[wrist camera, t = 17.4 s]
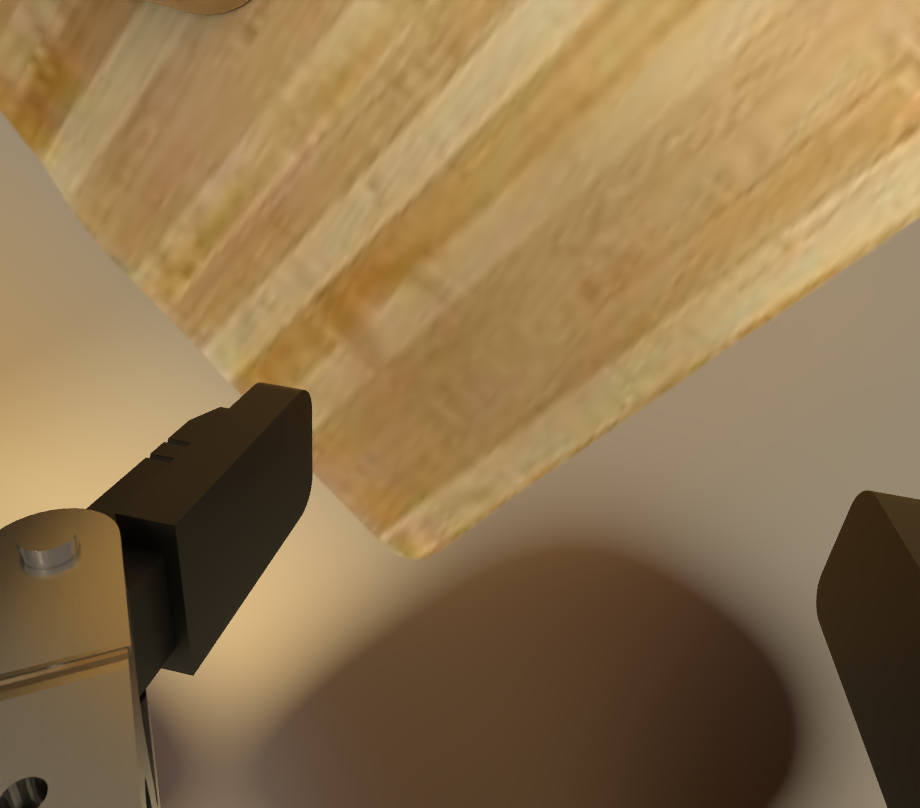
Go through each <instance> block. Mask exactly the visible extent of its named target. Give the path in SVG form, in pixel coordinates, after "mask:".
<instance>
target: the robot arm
mask: <svg viewBox="0 0 920 808" xmlns="http://www.w3.org/2000/svg"><path fill="white" fill-rule="evenodd" d="M147 1H150V2H154V3H157V4H161V5H164V6H168V7H172V8H175V9H179V10H182V11H186V12H189V13H196V14H203V15H212V14H220V13H226V12H228V11H231V10H233V9H235V8H238V7H240V6H242V5H243V4H245V3H246V2H247V1H249V0H147ZM311 485H312V403H311V397H310V395H309V393H308V392H307V391H306V390H301V389H295V388H290V387H284V386H278V385H273V384H267V383H257V384H255V385H254V386H253V387H252V388H251V389H250V390H249V391H247V392H246V393H245V394H244V395H243V396H242V397H241V398H240V399H239V400H238V401H237V402H235V403H234V404H233V405H232V406H231V407H230V408H229V409H228V408H223V407H219V408H217V409H215V410H212V411H210V412H208V413H205V414H203V415H201V416H198V417H196V418H194V419H192V420H190V421H188V422H187V423H186V424H185V425H183V426H182V427H181V428H180V429H179V430H178V431H176V432H175V433H174V434H173V435H172V436H171V437H169V438H168V442H167V443H166V442H164V443H162V444H161V445H160V446H159V447H158V448H157V449H155V450H154V451H153V452H152V453H151V455H150V458H145V459H144V460H143V461H141V462H140V463H139V464H138V465H137V466H136V467H135V468H133V469H132V470H131V471H130V472H129V473H128V474H126V475H125V476H124V477H123V478H122V479H120V480H119V481H118V482H117V483H116V484H115V485H114V486H112V487H111V488H110V489H109V490H108V491H106V492H105V493H104V494H103V495H102V496H101V497H99V498H98V499H97V500H96V501H95V502H94V503H93V504H91V505H90V506H89V507H88V508H87V509H77V508H71V509H57V510H50V511H46V512H41V513H37V514H34V515H30V516H27V517H25V518H22V519H20V520H17V521H15V522H13V523H11V524H9V525H7V526H5V527H4V528H2V529H0V808H160V801H159V800H160V799H159V791H158V782H157V773H156V765H155V756H154V747H153V738H152V730H151V720H150V711H149V703H148V696H147V690H146V688H147V686H148V685H149V684H150V682H151V681H152V679H153V678H154V677H155V675H156V674H157V673H158V671H159V670H160V669H161V668H164V669H167V670H171V671H176V672H180V673H184V674H188V675H194V674H195V672H196V671H197V669H198V668H199V666H200V665H201V664H202V662H203V661H204V659H205V658H206V656H207V655H208V653H209V652H210V650H211V649H212V647H213V646H214V644H215V643H216V641H217V640H218V638H219V637H220V636H221V634H222V632H223V631H224V630H225V628H226V627H227V625H228V624H229V622H230V621H231V619H232V618H233V616H234V615H235V613H236V612H237V610H238V609H239V607H240V606H241V604H242V603H243V602H244V600H245V599H246V597H247V596H248V594H249V593H250V591H251V590H252V588H253V587H254V585H255V584H256V582H257V581H258V579H259V578H260V576H261V575H262V573H263V572H264V571H265V569H266V568H267V566H268V564H269V563H270V562H271V560H272V559H273V557H274V555H275V554H276V553H277V551H278V550H279V548H280V547H281V545H282V544H283V542H284V541H285V539H286V538H287V537H288V535H289V533H290V532H291V531H292V529H293V528H294V526H295V524H296V523H297V522H298V520H299V519H300V517H301V516H302V514H303V512H304V510H305V507H306V505H307V502H308V499H309V495H310V491H311ZM816 605H817V615H818V620H819V623H820V625H821V628H822V631H823V634H824V637H825V639H826V642H827V645H828V647H829V650H830V653H831V655H832V658H833V661H834V664H835V666H836V669H837V672H838V674H839V677H840V680H841V683H842V685H843V688H844V691H845V693H846V696H847V699H848V702H849V704H850V707H851V710H852V712H853V715H854V718H855V721H856V723H857V726H858V729H859V731H860V734H861V737H862V740H863V742H864V745H865V748H866V751H867V753H868V756H869V759H870V761H871V764H872V767H873V769H874V772H875V775H876V778H877V780H878V783H879V786H880V789H881V791H882V794H883V797H884V799H885V802H886V805H887V808H920V500H919V499H913V498H907V497H902V496H896V495H891V494H885V493H879V492H874V491H863V492H861V493H860V494H859V495H858V496H857V497H856V498H855V500H854V501H853V503H852V505H851V507H850V510H849V512H848V514H847V517H846V519H845V521H844V523H843V526H842V528H841V530H840V533H839V535H838V537H837V540H836V542H835V544H834V546H833V549H832V551H831V553H830V556H829V558H828V560H827V563H826V565H825V567H824V570H823V572H822V574H821V577H820V581H819V584H818V589H817V600H816Z"/></svg>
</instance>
